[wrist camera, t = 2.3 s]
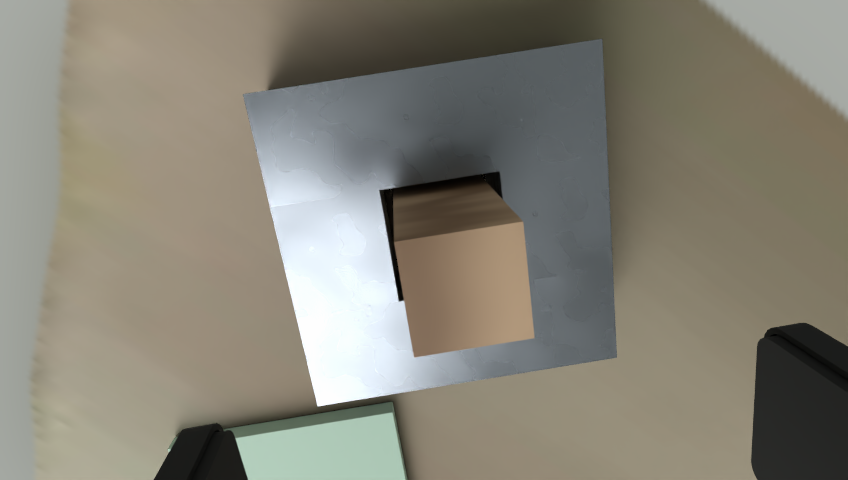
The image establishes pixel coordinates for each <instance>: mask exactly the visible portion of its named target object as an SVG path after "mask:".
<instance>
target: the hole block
mask: <svg viewBox="0 0 848 480" xmlns="http://www.w3.org/2000/svg"><path fill="white" fill-rule="evenodd" d="M243 96H244V101H245V105H246V109H247V113H248V117H249V122H250V126H251V130H252V134H253V138H254V142H255V147H256V151H257V155H258V159H259V163H260V167H261V172H262V176H263V180H264V184H265V188H266V193H267V197H268V201H269V205H270V209H271V213H272V218H273V222H274V226H275V230H276V234H277V238H278V243H279V247H280V251H281V255H282V259H283V264H284V268H285V272H286V276H287V280H288V284H289V289H290V293H291V297H292V301H293V305H294V310H295V314H296V318H297V322H298V326H299V330H300V335H301V339H302V343H303V347H304V351H305V355H306V360H307V364H308V368H309V372H310V376H311V381H312V385H313V389H314V393H315V397H316V401H317V406H323V405H329V404H335V403H342V402H348V401H354V400H360V399H366V398H372V397H378V396H384V395H390V394H397V393H403V392H409V391H415V390H421V389H427V388H433V387H439V386H446V385H452V384H458V383H464V382H470V381H476V380H482V379H488V378H495V377H501V376H507V375H513V374H519V373H525V372H531V371H537V370H544V369H550V368H556V367H562V366H568V365H574V364H580V363H586V362H592V361H599V360H605V359H611V358H617V351H616V329H615V307H614V285H613V263H612V241H611V220H610V198H609V176H608V154H607V132H606V111H605V89H604V67H603V45H602V39H598V40H591V41H585V42H578V43H572V44H565V45H559V46H552V47H546V48H539V49H533V50H526V51H520V52H513V53H507V54H500V55H494V56H488V57H481V58H475V59H468V60H462V61H455V62H449V63H442V64H436V65H429V66H423V67H416V68H410V69H403V70H397V71H390V72H384V73H377V74H371V75H364V76H358V77H351V78H345V79H339V80H332V81H326V82H319V83H313V84H306V85H300V86H293V87H287V88H280V89H274V90H267V91H261V92H254V93H248V94H243ZM479 174H485V175H486V182H487V183H488V184H489V185H490V187H491V188H492V189H493V190H494V191H495V192H496V193H497V194H498V195H499V196H500V197H501V198H502V199H503V200H504V201H505V203H506V204H507V205H508V206H509V207H510V208H511V209H512V210H513V211H514V212H515V213H516V214H517V215H518V216H519V218H520V219H521V220H522V221H523V224H524V234H525V245H526V255H527V266H528V276H529V286H530V297H531V307H532V318H533V328H534V338H532V339H526V340H520V341H514V342H507V343H501V344H495V345H489V346H483V347H477V348H470V349H464V350H458V351H452V352H446V353H440V354H433V355H427V356H421V357H415V358H414V355H413V349H412V344H411V338H410V332H409V326H408V320H407V314H406V309H405V303H404V297H403V291H402V285H401V280H400V274H399V270H397V264H396V258H395V252H394V247H393V241H392V235H391V229H390V223H389V218H388V212H387V206H386V200H385V195H384V189H390V188H396V187H403V186H409V185H415V184H422V183H428V182H434V181H441V180H447V179H453V178H460V177H466V176H472V175H479Z"/></svg>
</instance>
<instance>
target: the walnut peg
mask: <svg viewBox="0 0 848 480" xmlns="http://www.w3.org/2000/svg"><path fill="white" fill-rule="evenodd" d="M393 214H394V245H395V251H396V256H397V262H398V268H399V274H400V280H401V285H402V291H403V297H404V303H405V309H406V314H407V320H408V326H409V332H410V338H411V344H412V349H413V355H414V358H415V357H421V356H427V355H433V354H440V353H446V352H452V351H458V350H464V349H470V348H477V347H483V346H489V345H495V344H501V343H507V342H514V341H520V340H526V339H532V338H534V328H533V318H532V307H531V297H530V286H529V276H528V266H527V255H526V245H525V234H524V224H523V221H522V220H521V219H520V218H519V216H518V215H517V214H516V213H515V212H514V211H513V210H512V209H511V208H510V207H509V206H508V205H507V204H506V203H505V201H504V200H503V199H502V198H501V197H500V196H499V195H498V194H497V193H496V192H495V191H494V190H493V189H492V188H491V187H490V185H489V184H488V183H487V182H486V181H485V180H484V179H483V178H482V177H481V176H480V175H472V176H466V177H460V178H453V179H447V180H441V181H434V182H428V183H422V184H415V185H409V186H403V187H396V188H393Z"/></svg>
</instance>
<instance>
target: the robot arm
mask: <svg viewBox="0 0 848 480" xmlns="http://www.w3.org/2000/svg"><path fill="white" fill-rule="evenodd" d="M751 463H752V468H753V471H754V474H755V476H756V478H757V480H848V346H846V345H844V344H842V343H841V342H839V341H837V340H836V339H834V338H832V337H830V336H829V335H827V334H825V333H824V332H822V331H820V330H819V329H817V328H815V327H813V326H812V325H809V324H807V323H798V324H792V325H786V326H780V327H774V328H770V329H769V330H767V332H766V333H765V336H764V338H762V339H760V340H759V342H758V346H757V360H756V380H755V399H754V418H753V437H752V456H751ZM154 480H248V478H247V475H246V471H245V468H244V465H243V462H242V458H241V455H240V452H239V448H238V445H237V442H236V439H235V436H234V433H233V432H232V431H231V430H226V431H224V430H223V428H222V427H221V425H220V424H217V423H216V424H210V425H204V426H198V427H192V428H187V429H184V430H182V431H181V433H180V434H179V436H178V437H177V439H176V441H175V443H174V444H173V446H172V448H171V450H170V452H169V453H168V455H167V457H166V459H165V461H164V462H163V464H162V466H161V468H160V470H159V471H158V473H157V475H156V477H155V478H154Z"/></svg>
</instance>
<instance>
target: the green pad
mask: <svg viewBox="0 0 848 480" xmlns="http://www.w3.org/2000/svg"><path fill="white" fill-rule="evenodd" d="M223 430H224V431H226V430H231V431H232V432H233V433H234V436H235V439H236V442H237V445H238V448H239V452H240V455H241V458H242V462H243V465H244V468H245V471H246V475H247V478H248V480H407V475H406V470H405V464H404V459H403V454H402V449H401V443H400V438H399V433H398V428H397V422H396V417H395V412H394V407H393V402H387V403H381V404H375V405H369V406H362V407H356V408H350V409H344V410H338V411H332V412H326V413H320V414H314V415H307V416H301V417H295V418H289V419H283V420H277V421H271V422H265V423H259V424H252V425H246V426H240V427H234V428H228V429H223ZM176 439H177V437H175V438H174V440H173V441H172V443H171V445H170V446H169V448H168V452H170V450H171V448H172V446H173V444H174V443H175V441H176Z"/></svg>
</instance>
